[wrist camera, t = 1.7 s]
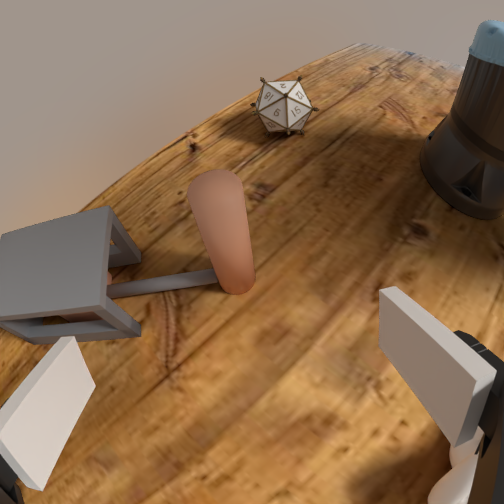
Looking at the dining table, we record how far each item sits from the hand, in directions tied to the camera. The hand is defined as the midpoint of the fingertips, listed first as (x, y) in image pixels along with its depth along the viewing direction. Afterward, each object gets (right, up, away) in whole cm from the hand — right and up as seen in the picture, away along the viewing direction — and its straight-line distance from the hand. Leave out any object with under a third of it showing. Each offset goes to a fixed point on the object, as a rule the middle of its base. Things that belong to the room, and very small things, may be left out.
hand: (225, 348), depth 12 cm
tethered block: (-9, 0, +19) cm, 21 cm away
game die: (+5, +21, +30) cm, 37 cm away
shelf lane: (-17, -1, +19) cm, 26 cm away
